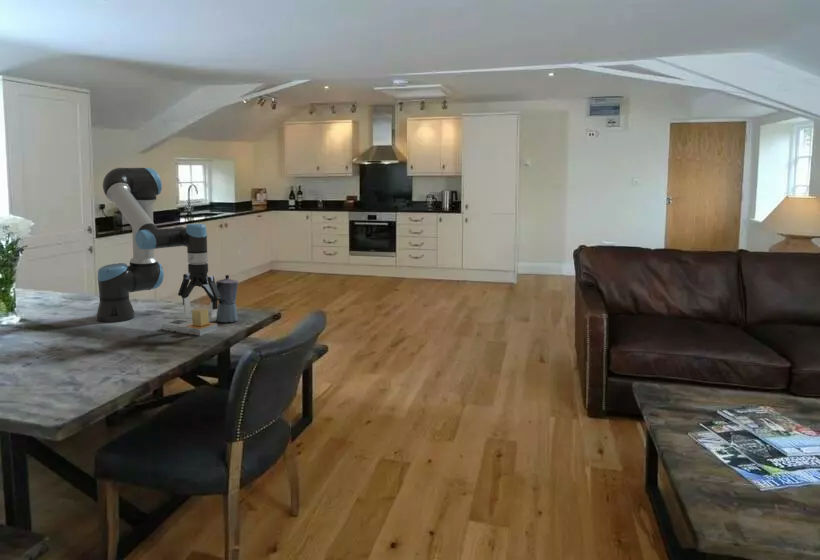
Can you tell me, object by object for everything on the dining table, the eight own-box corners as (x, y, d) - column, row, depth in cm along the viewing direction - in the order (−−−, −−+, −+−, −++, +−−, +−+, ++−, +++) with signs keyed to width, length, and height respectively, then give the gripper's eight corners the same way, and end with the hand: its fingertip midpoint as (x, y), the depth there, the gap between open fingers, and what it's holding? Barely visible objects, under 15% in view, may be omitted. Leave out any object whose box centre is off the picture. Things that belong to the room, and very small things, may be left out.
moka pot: (244, 317, 276) (243, 272, 272) (231, 326, 261) (229, 279, 257) (223, 316, 277) (221, 272, 273) (209, 325, 262) (207, 278, 258)
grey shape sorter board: (162, 329, 254) (161, 323, 254) (180, 324, 263) (180, 317, 263) (200, 335, 246) (199, 328, 245) (217, 329, 255) (217, 323, 254)
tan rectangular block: (193, 332, 251) (191, 310, 249) (200, 329, 255) (199, 308, 253) (201, 333, 249) (200, 311, 248) (209, 330, 253) (208, 309, 252)
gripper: (167, 261, 249) (170, 313, 253) (216, 266, 239) (218, 320, 242) (181, 259, 255) (183, 310, 259) (229, 264, 245) (231, 316, 249)
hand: (200, 315), depth 251 cm, fingers open, 13 cm apart
